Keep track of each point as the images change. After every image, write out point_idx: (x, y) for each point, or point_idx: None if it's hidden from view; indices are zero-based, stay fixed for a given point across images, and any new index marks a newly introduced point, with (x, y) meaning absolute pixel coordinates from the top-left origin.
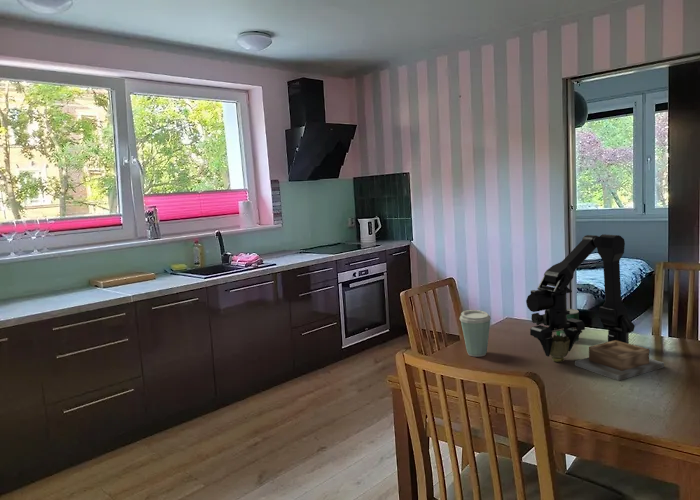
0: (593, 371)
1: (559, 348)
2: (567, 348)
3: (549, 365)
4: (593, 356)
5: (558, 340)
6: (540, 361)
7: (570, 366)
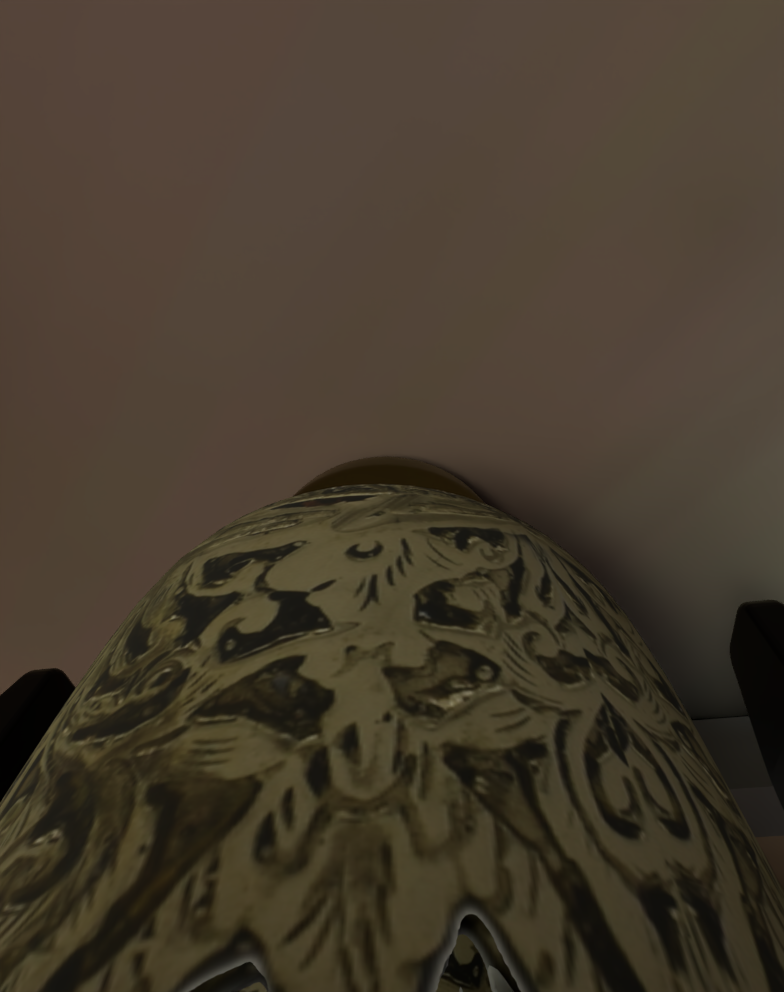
0: None
1: (250, 986)
2: (474, 963)
3: (123, 619)
4: None
5: (679, 829)
6: (29, 408)
7: None
